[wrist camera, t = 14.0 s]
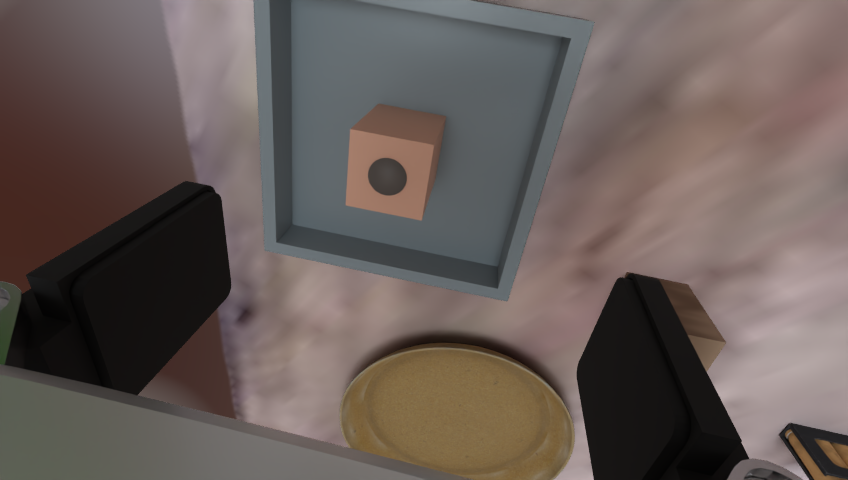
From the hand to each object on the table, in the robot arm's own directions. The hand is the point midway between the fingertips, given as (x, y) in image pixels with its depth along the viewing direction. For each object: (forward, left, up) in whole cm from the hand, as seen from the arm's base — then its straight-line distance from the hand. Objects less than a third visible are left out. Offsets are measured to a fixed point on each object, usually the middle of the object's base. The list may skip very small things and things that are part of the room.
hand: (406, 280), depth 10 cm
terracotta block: (+4, +4, -23) cm, 24 cm away
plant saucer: (-5, +33, -24) cm, 42 cm away
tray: (+4, +4, -24) cm, 25 cm away
